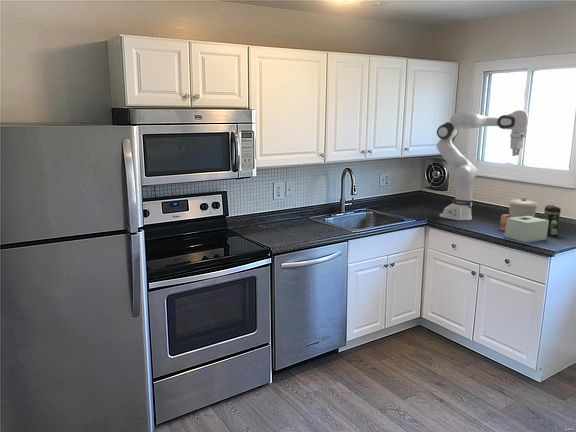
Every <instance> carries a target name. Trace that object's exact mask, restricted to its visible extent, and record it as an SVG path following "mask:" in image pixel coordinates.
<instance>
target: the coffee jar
mask: <svg viewBox="0 0 576 432" xmlns="http://www.w3.org/2000/svg"><path fill="white" fill-rule="evenodd" d="M561 212H562V211H561V207H559V206H556V205H553V204H552V205H551V204H548V205H545V206H544V215H543V219H545V220H549V225H548V231H547V236H557V235H558V230H559V223H560V222H559V220H560V215H561Z"/></svg>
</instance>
